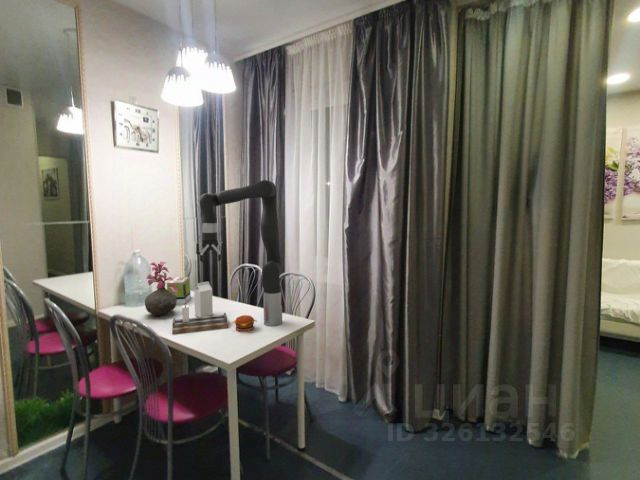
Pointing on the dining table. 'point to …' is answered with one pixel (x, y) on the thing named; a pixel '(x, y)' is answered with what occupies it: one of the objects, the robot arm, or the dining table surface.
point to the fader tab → (185, 313)
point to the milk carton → (203, 299)
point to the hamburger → (244, 323)
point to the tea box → (181, 289)
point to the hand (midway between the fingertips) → (210, 261)
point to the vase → (160, 293)
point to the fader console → (199, 324)
